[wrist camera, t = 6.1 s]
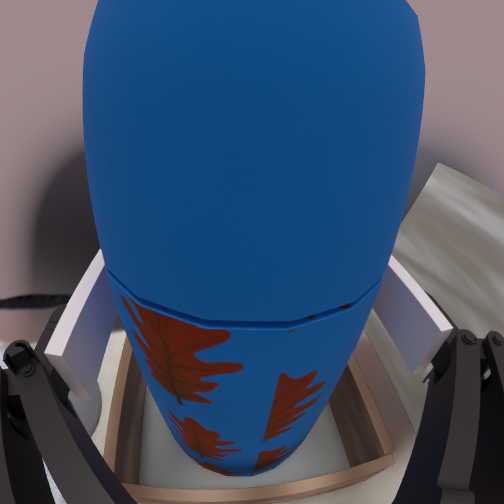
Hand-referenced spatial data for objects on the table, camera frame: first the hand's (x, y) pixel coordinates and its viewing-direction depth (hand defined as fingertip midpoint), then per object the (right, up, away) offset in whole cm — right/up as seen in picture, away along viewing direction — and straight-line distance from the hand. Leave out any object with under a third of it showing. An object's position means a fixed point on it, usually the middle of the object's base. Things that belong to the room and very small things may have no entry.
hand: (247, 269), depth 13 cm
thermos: (-1, -13, +6) cm, 14 cm away
